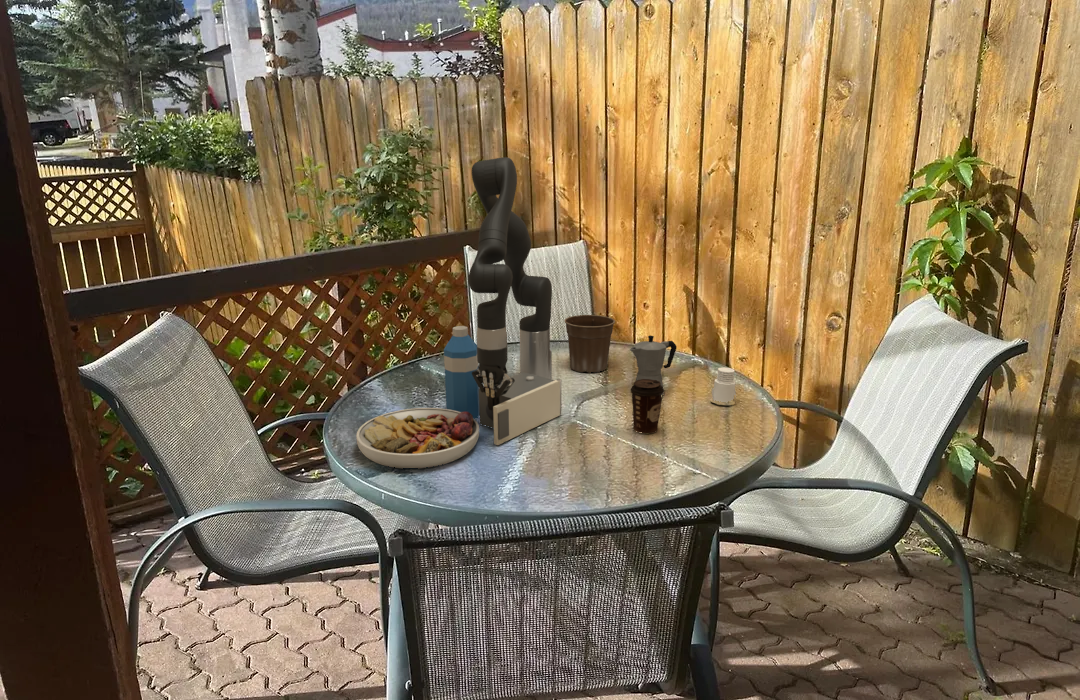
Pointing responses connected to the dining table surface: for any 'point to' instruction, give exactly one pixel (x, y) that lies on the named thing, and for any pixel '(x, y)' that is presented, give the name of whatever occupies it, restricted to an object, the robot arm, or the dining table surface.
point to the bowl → (418, 437)
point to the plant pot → (589, 342)
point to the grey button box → (510, 394)
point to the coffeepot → (652, 358)
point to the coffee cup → (646, 405)
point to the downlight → (724, 385)
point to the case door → (527, 411)
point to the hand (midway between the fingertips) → (493, 409)
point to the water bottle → (461, 373)
